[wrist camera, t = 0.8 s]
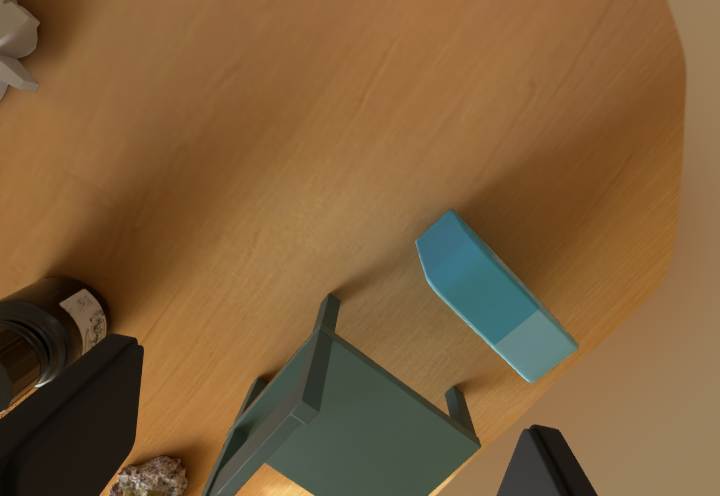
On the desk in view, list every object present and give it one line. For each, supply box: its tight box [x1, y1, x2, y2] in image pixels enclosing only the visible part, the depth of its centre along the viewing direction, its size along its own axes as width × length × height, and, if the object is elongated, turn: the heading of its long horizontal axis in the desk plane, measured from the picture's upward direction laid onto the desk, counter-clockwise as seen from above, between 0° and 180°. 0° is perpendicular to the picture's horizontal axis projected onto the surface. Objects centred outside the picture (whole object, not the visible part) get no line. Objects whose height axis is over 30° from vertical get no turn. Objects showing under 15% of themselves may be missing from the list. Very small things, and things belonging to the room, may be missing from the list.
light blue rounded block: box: [416, 210, 579, 383], centre depth 37 cm, size 12×4×12 cm, turn 45°
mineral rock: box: [110, 456, 188, 496], centre depth 51 cm, size 11×4×8 cm
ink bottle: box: [0, 276, 110, 413], centre depth 40 cm, size 10×9×12 cm
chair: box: [201, 293, 481, 496], centre depth 39 cm, size 14×18×17 cm
